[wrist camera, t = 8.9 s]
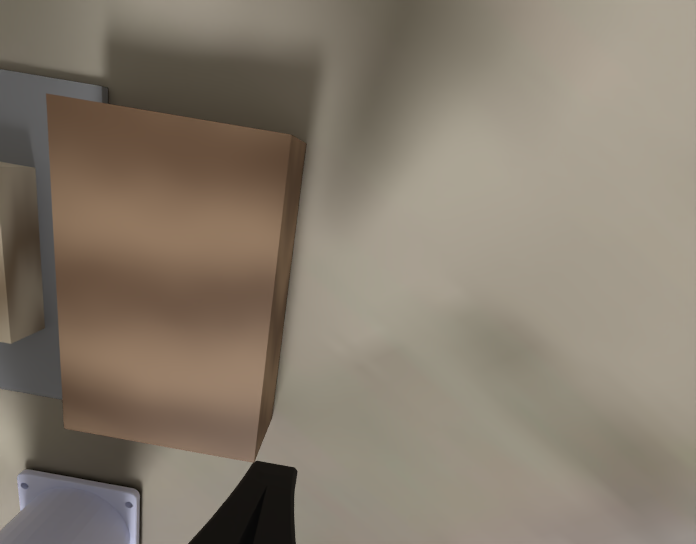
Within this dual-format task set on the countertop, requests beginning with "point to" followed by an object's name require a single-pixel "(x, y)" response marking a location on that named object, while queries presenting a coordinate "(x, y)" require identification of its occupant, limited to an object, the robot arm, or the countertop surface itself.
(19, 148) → the slate mat
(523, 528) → the countertop surface
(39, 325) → the birch tile
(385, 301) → the countertop surface
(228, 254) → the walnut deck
